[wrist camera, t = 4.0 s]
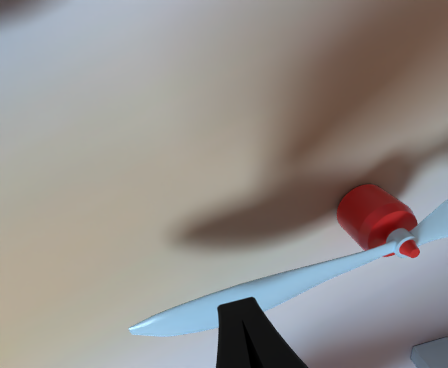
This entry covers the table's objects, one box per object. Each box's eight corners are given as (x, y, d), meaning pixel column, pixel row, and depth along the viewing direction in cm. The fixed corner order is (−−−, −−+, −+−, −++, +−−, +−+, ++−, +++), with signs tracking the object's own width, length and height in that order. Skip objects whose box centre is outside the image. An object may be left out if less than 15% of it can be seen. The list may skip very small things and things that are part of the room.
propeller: (554, 176, 19) (649, 210, 15) (148, 304, 17) (145, 376, 14) (574, 108, 17) (687, 128, 13) (119, 244, 15) (107, 309, 12)
